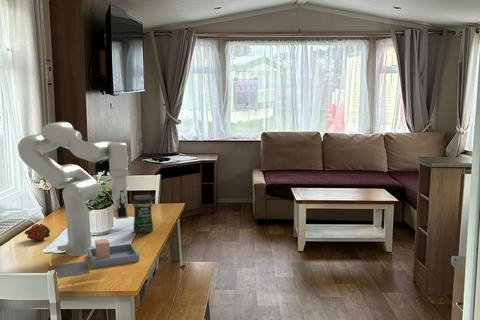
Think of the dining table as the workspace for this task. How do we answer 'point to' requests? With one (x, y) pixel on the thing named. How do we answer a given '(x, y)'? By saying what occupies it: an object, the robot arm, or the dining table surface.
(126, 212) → the birch box
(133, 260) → the slate bin
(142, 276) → the dining table surface
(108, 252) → the terracotta box
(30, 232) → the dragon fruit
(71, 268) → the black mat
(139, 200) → the coffee jar
